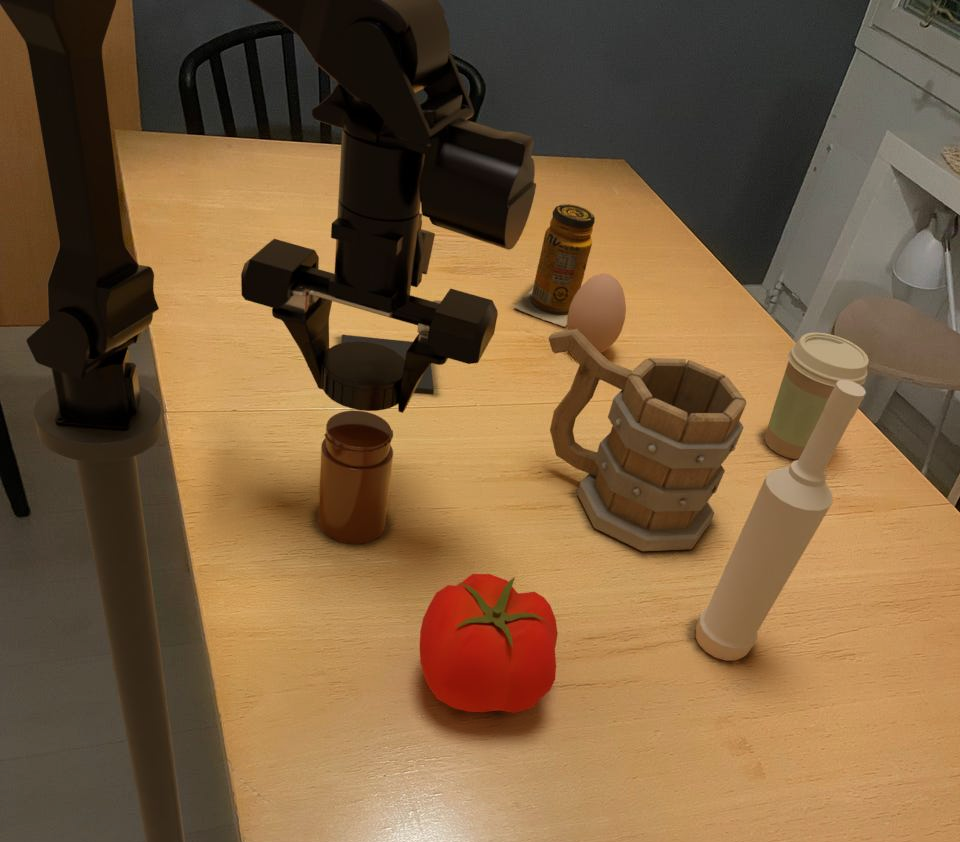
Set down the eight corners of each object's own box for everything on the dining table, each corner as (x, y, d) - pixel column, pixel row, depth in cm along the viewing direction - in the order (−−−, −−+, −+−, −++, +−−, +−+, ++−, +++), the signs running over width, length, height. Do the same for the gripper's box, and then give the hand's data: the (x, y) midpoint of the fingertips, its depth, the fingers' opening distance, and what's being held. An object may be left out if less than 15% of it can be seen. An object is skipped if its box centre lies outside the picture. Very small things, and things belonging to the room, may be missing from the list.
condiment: (585, 304, 121) (609, 212, 113) (564, 328, 115) (588, 233, 107) (535, 286, 122) (555, 194, 114) (512, 309, 116) (531, 214, 108)
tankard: (721, 507, 93) (779, 377, 83) (677, 570, 85) (735, 434, 74) (552, 429, 98) (586, 297, 88) (495, 481, 90) (525, 342, 79)
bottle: (682, 624, 80) (799, 369, 62) (730, 616, 82) (857, 366, 64) (711, 667, 77) (843, 411, 59) (761, 657, 78) (904, 406, 61)
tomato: (384, 675, 70) (395, 594, 64) (483, 617, 76) (502, 538, 70) (478, 764, 66) (500, 686, 59) (576, 695, 72) (604, 618, 66)
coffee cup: (824, 437, 107) (872, 343, 98) (824, 475, 101) (875, 379, 92) (754, 416, 108) (795, 322, 99) (750, 453, 102) (794, 356, 93)
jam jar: (317, 542, 79) (321, 446, 72) (318, 499, 83) (323, 405, 76) (385, 546, 80) (396, 452, 73) (383, 504, 85) (394, 411, 77)
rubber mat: (341, 385, 97) (341, 380, 97) (341, 339, 104) (341, 334, 104) (433, 394, 99) (434, 389, 99) (427, 347, 106) (428, 343, 106)
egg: (586, 371, 108) (607, 293, 102) (548, 343, 112) (567, 266, 105) (624, 359, 112) (648, 283, 105) (587, 333, 115) (607, 258, 108)
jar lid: (422, 391, 75) (425, 366, 74) (369, 421, 71) (371, 396, 69) (358, 357, 77) (360, 332, 76) (303, 385, 73) (303, 359, 71)
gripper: (530, 201, 69) (494, 384, 80) (298, 137, 70) (294, 326, 81) (496, 255, 61) (461, 449, 72) (235, 182, 62) (240, 384, 73)
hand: (362, 398), depth 75 cm, fingers closed on jar lid, 6 cm apart
